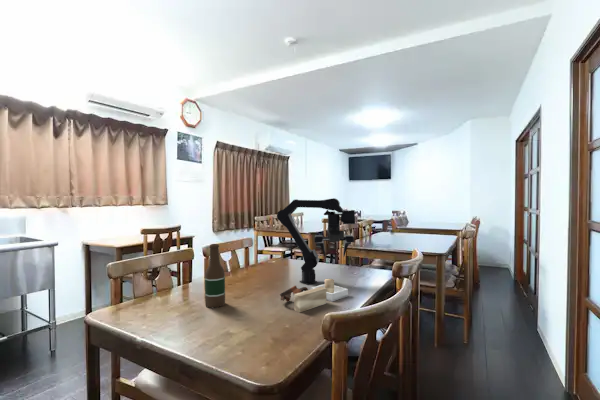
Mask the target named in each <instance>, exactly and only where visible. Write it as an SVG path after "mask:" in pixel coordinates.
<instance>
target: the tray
mask: <svg viewBox="0 0 600 400" xmlns="http://www.w3.org/2000/svg"><path fill="white" fill-rule="evenodd" d="M318 287H324V288H325V283H324V284H319V285H317V286H316V285H315V286H312V287H310V290H311V289H315V288H318ZM347 297H349V289H348V288H346V287H342V286H338V285H335V284H334V293H329V292H326V301H329V302H335V301H337V300H340V299H344V298H347Z"/></svg>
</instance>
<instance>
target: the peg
mask: <svg viewBox="0 0 600 400" xmlns="http://www.w3.org/2000/svg"><path fill="white" fill-rule="evenodd" d="M324 284H325V288H326V292H329V293H334V285H335V279H334V278H325V279H324Z"/></svg>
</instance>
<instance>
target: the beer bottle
mask: <svg viewBox="0 0 600 400" xmlns="http://www.w3.org/2000/svg"><path fill="white" fill-rule="evenodd" d="M219 247H220V245H219V244H218V243H210V244H209V249H210V250H209V264H208V266H207V267H206V269H205V271H204V272H205V273H204V303H205V307H207V306H208V307H207V308H209V307H218V308H220V307H219V306H221V307H223V306H224V305H225V303H226V276H225V274H226V273H225V270H224V267H223V266H222V265H221V261H220V251H219Z"/></svg>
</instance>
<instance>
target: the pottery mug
mask: <svg viewBox="0 0 600 400" xmlns="http://www.w3.org/2000/svg"><path fill="white" fill-rule="evenodd" d="M308 290H309V289H308V287H307V286H303V287H301V288H298V287H297V285H294V286H292V287H289V289H286V290H285V291H283V292H280V294H279V296H280V301H286V302H290V301H291V298H292V294H293V295H294V294H297V293H300V292H304V291H308Z"/></svg>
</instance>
